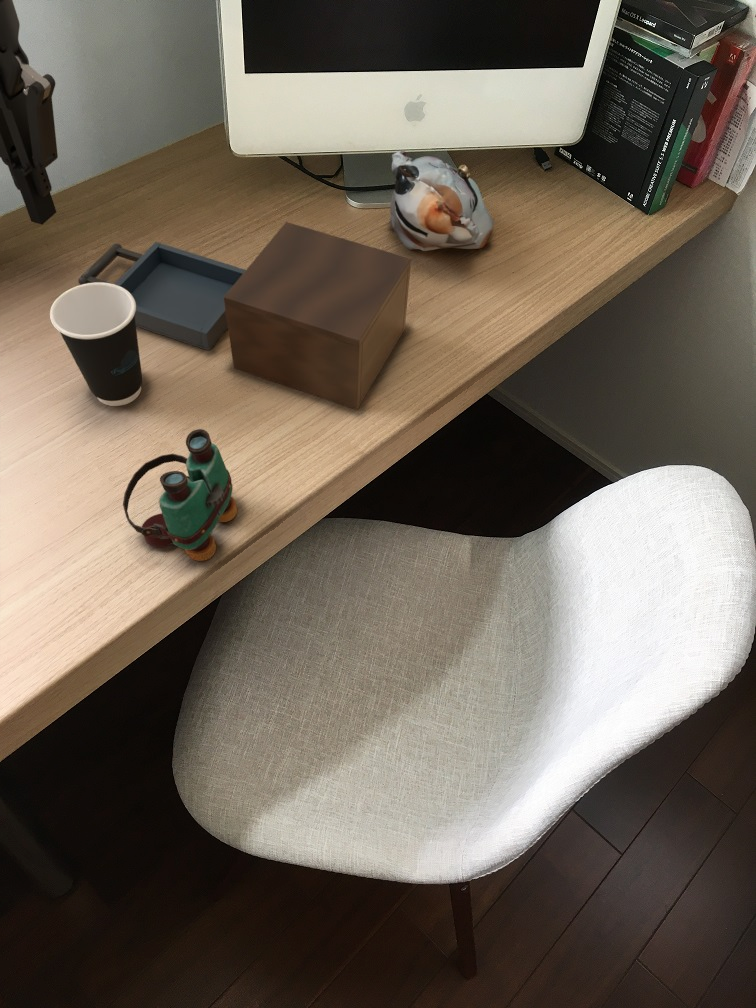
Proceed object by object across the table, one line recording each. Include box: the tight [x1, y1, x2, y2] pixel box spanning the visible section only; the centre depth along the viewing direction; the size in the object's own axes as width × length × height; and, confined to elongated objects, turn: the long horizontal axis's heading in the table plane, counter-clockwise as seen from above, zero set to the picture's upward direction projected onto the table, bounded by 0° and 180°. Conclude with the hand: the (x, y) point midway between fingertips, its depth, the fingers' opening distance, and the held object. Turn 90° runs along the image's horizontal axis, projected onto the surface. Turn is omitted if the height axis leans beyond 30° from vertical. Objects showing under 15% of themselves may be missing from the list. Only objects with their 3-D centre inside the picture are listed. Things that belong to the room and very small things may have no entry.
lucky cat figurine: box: [389, 150, 495, 252], centre depth 96 cm, size 15×12×14 cm
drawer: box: [77, 241, 247, 351], centre depth 91 cm, size 18×12×2 cm, turn 68°
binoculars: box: [122, 428, 238, 562], centre depth 70 cm, size 9×11×10 cm
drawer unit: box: [224, 221, 412, 411], centre depth 85 cm, size 15×14×10 cm
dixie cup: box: [49, 282, 143, 407], centre depth 79 cm, size 8×8×11 cm
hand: (43, 216), depth 90 cm, fingers closed
